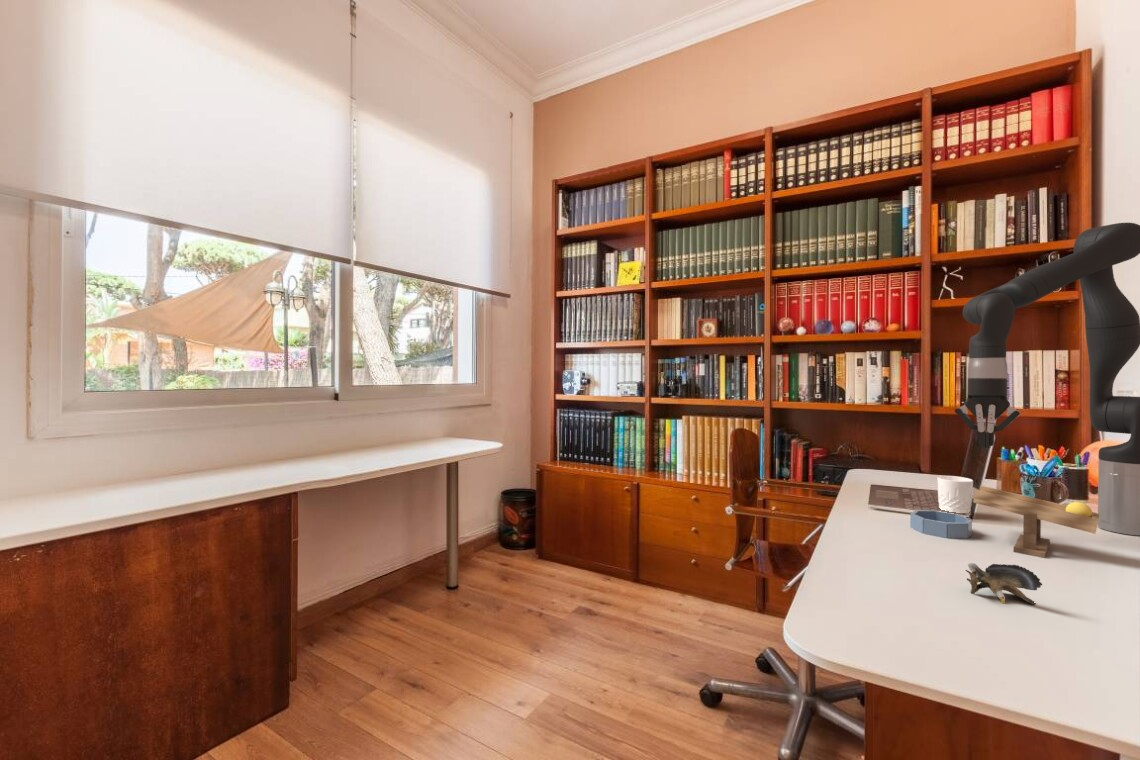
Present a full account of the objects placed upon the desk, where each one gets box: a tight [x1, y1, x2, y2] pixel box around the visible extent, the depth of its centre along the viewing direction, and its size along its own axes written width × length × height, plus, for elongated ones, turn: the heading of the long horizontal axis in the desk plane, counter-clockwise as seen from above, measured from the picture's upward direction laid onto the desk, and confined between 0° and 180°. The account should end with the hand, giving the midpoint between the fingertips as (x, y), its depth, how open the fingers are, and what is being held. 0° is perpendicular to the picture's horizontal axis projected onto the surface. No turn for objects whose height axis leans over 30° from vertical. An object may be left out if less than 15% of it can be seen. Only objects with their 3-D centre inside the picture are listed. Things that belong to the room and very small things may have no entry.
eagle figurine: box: [965, 562, 1043, 606], centre depth 88 cm, size 8×7×9 cm
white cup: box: [936, 475, 974, 513], centre depth 140 cm, size 8×8×10 cm
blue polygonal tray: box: [910, 509, 973, 539], centre depth 126 cm, size 12×12×4 cm
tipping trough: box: [972, 485, 1099, 535], centre depth 115 cm, size 20×13×3 cm, turn 43°
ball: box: [1066, 501, 1093, 517], centre depth 108 cm, size 4×4×4 cm
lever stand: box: [1012, 512, 1051, 559], centre depth 113 cm, size 5×13×9 cm, turn 133°
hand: (986, 447), depth 124 cm, fingers closed
